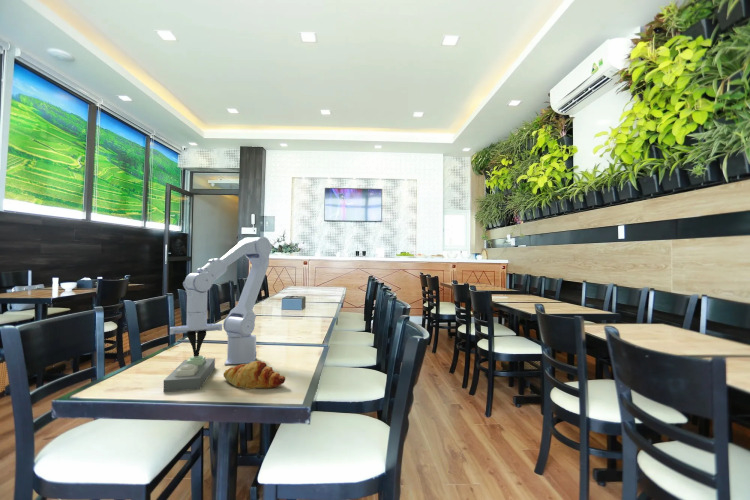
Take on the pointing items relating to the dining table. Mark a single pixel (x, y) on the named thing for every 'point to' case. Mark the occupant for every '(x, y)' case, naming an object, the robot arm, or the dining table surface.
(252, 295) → the robot arm
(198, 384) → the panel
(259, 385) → the croissant
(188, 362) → the button
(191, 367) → the button
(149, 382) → the dining table surface
